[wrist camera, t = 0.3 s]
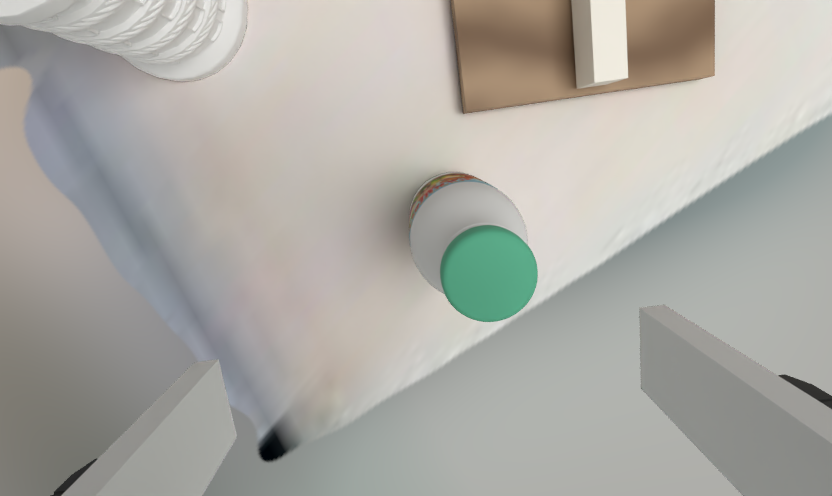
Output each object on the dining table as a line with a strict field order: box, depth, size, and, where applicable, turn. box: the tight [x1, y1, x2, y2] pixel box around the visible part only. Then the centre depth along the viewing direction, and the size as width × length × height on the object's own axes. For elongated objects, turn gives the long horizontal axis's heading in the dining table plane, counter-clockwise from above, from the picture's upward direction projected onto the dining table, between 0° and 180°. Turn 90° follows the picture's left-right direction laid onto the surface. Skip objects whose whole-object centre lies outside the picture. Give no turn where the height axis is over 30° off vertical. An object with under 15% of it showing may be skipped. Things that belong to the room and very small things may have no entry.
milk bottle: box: [409, 172, 537, 322], centre depth 31 cm, size 8×8×20 cm
